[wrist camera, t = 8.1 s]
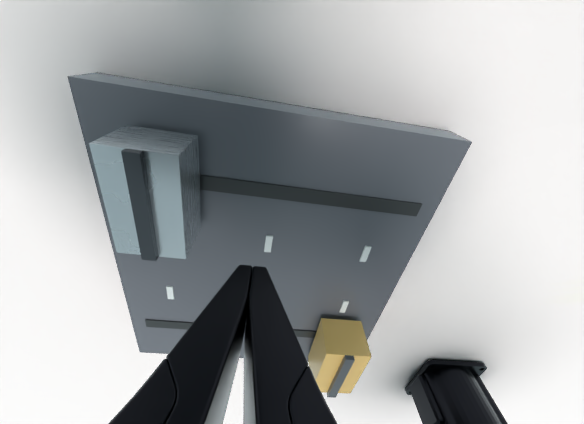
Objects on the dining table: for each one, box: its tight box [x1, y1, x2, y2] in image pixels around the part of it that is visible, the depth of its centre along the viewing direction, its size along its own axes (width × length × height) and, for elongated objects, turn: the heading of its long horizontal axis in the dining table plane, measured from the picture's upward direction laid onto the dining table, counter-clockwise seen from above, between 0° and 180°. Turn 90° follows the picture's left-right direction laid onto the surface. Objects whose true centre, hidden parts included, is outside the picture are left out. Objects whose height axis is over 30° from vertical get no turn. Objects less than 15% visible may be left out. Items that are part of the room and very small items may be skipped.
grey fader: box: [89, 125, 201, 261], centre depth 11 cm, size 3×5×3 cm, turn 171°
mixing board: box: [68, 73, 472, 361], centre depth 18 cm, size 18×20×2 cm
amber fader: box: [308, 318, 371, 397], centre depth 19 cm, size 3×5×3 cm, turn 171°
